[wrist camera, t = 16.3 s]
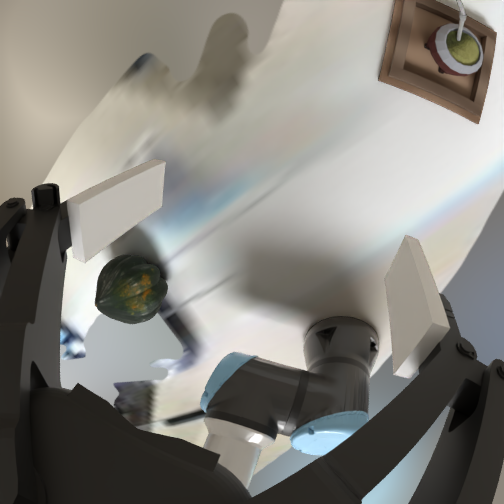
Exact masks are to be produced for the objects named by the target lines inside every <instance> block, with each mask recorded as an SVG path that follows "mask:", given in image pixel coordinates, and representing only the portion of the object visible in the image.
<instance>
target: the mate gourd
mask: <svg viewBox="0 0 504 504" xmlns="http://www.w3.org/2000/svg"><path fill="white" fill-rule="evenodd" d="M456 1H457V3H458V6H459V9H460V12H459V18H460V21H459V24H451V23H449V24H445V25H442V26H439V27H437V28H436V29H435V30H434V32H433V33H432V34H431V35H430V37H429V39H428V41H427V43H425V45H424V48H426V49H428V50H430V53H431V55H432V57H433V59H434V61H435V62H436V64H437V65H438V66H439V68H438V72H439V73H441V74H444V73H445V74H450V75H454V76H468V75H470V74H473V73H475V72H476V71H477V70H478V69H479V68H480V66H481V65H482V61H483V51H482V46H481V44H480V42H479V41H478V39H477V37H476V36H475V35H474V34H473V33H472V32H471V31H470V30H469V29H467V28H465V27H463V26H464V21H465V20H466V16H467V14H466V13H465V10H464V6H463V4H462V2H461V0H456Z"/></svg>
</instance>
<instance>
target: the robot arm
mask: <svg viewBox="0 0 504 504" xmlns="http://www.w3.org/2000/svg"><path fill="white" fill-rule="evenodd" d="M164 173H165V161H161V160H156V159H153V160H151V161H148V162H146V163H143V164H141V165H139V166H136V167H134V168H132V169H130V170H127V171H125V172H123V173H121V174H119V175H116V176H114V177H112V178H110V179H108V180H106V181H104V182H102V183H100V184H98V185H95V186H93V187H91V188H89V189H87V190H85V191H83V192H82V193H80V194H78V195H76V196H74V197H72V198H70V199H68V200H66V201H65V202H63V203H61V204H60V195H59V186H58V185H57V184H53V183H47V184H42V185H39V186H37V187H35V188H33V189H32V191H31V192H32V201H33V210H32V209H26V206H25V201H24V199H23V198H11V199H9V200H8V201H6V202H4V203H3V204H2V205H1V206H0V504H361V503H362V501H361V500H362V499H363V497H365V496H366V495H367V494H368V493H369V492H370V491H371V490H372V489H373V488H374V487H375V486H376V485H377V484H378V483H379V482H381V481H382V479H384V478H385V477H386V476H387V475H388V474H389V473H390V472H391V471H392V470H393V469H394V468H395V467H396V466H397V465H398V463H399V462H400V461H401V460H402V459H403V458H404V457H405V456H406V455H407V454H408V453H409V451H410V450H411V449H412V448H413V447H414V446H415V445H416V444H417V442H418V441H419V440H420V439H421V438H422V436H423V435H424V434H425V433H426V432H427V430H428V429H429V428H430V427H431V425H432V424H433V423H434V422H435V420H436V419H437V418H438V416H439V415H440V414H441V412H442V411H443V410H444V408H445V407H446V406H449V407H451V408H450V411H449V414H448V417H447V419H446V422H445V425H444V428H443V430H442V433H441V436H440V438H439V441H438V443H437V445H436V448H435V450H434V453H433V455H432V457H431V460H430V462H429V464H428V466H427V468H426V471H425V473H424V475H423V477H422V479H421V481H420V483H419V485H418V487H417V489H416V491H415V492H414V494H413V496H412V498H411V500H410V502H409V503H408V504H492V501H493V499H494V495H495V492H496V488H497V484H498V481H499V477H500V473H501V469H502V465H503V460H504V362H503V361H502V360H500V359H495V360H493V361H492V362H491V364H490V365H489V366H486V365H484V364H483V363H481V362H479V361H478V360H476V359H477V354H476V351H475V349H474V347H473V346H472V345H471V343H470V342H468V341H467V340H466V339H465V338H462V337H461V335H460V332H459V329H458V326H457V323H456V320H455V317H454V314H453V313H452V308H451V305H450V303H449V302H448V300H447V299H446V298H445V296H444V295H443V294H440V293H439V292H438V289H437V286H436V283H435V281H434V278H433V275H432V273H431V270H430V267H429V265H428V262H427V260H426V257H425V255H424V252H423V250H422V247H421V245H420V243H419V240H418V239H415V238H413V237H410V236H408V235H405V237H404V239H403V241H402V243H401V246H400V248H399V250H398V252H397V254H396V256H395V258H394V260H393V262H392V264H391V267H390V269H389V271H388V273H387V275H386V277H385V285H386V293H387V301H388V310H389V319H390V329H391V341H392V355H393V374H394V375H397V376H401V377H405V378H411V377H412V376H413V374H414V373H415V372H416V371H417V370H418V369H419V375H418V376H417V377H416V378H415V379H414V380H413V381H412V382H411V383H410V384H409V385H408V386H407V387H406V388H405V389H404V390H403V391H402V392H401V393H400V394H399V395H398V396H396V398H394V399H393V400H392V401H391V402H390V403H389V404H388V405H387V406H386V407H384V408H383V409H382V410H381V411H380V412H379V413H378V414H377V415H376V416H374V417H373V418H372V419H371V420H369V421H368V419H369V416H368V405H369V377H370V373H371V371H372V368H373V366H374V364H375V361H376V359H377V356H378V352H379V341H378V336H377V334H376V332H375V331H374V329H373V328H372V327H371V326H369V325H368V324H367V323H365V322H363V321H361V320H358V319H355V318H351V317H333V318H328V319H325V320H323V321H320V322H319V323H317V324H315V325H314V326H313V327H312V328H311V329H310V330H309V331H308V333H307V335H306V338H305V343H304V356H305V361H306V366H307V371H305V370H301V369H297V368H294V367H290V366H286V365H283V364H279V363H276V362H272V361H269V360H266V359H262V358H259V357H258V356H255V355H254V356H251V355H247V354H243V353H239V352H233V353H230V354H228V355H227V356H225V357H224V358H223V359H222V360H221V361H220V363H219V364H218V365H217V367H216V368H215V370H214V371H213V373H212V375H211V377H210V379H209V380H208V382H207V384H206V387H205V391H204V393H203V395H202V398H201V402H200V406H201V408H202V409H203V410H204V412H206V416H205V418H204V422H205V425H206V427H207V429H208V432H209V434H208V437H207V439H206V442H205V444H204V447H203V448H202V447H199V446H197V445H195V444H192V443H190V442H187V441H185V440H183V439H179V438H174V437H169V436H165V435H160V434H156V433H152V432H147V431H143V430H140V429H138V428H136V427H134V426H133V425H132V424H131V423H130V422H129V421H128V420H127V419H125V418H124V417H123V416H122V415H121V414H120V413H119V412H118V411H117V410H116V409H115V408H114V407H113V406H112V405H110V403H109V402H107V401H106V400H104V399H102V398H101V397H99V396H98V395H96V394H94V393H93V392H91V391H90V390H88V389H86V388H85V387H83V386H82V385H80V384H79V383H77V385H76V386H75V387H74V388H73V390H69V389H65V388H62V387H61V382H60V328H61V310H62V298H63V287H64V278H65V270H66V262H67V253H66V250H67V249H68V248H69V247H71V246H72V251H73V258H76V259H78V260H80V261H82V262H84V263H86V262H87V261H89V260H90V259H91V258H92V257H94V256H95V255H96V254H98V253H99V252H100V251H101V250H103V249H104V248H105V247H107V246H108V245H109V244H111V243H112V242H113V241H115V240H116V239H117V238H119V237H120V236H121V235H123V234H124V233H125V232H127V231H128V230H130V229H131V228H132V227H134V226H135V225H136V224H138V223H139V222H141V221H142V220H143V219H145V218H146V217H148V216H149V215H150V214H152V213H153V212H155V211H156V210H158V209H159V208H161V207H162V198H163V185H164ZM6 238H7V242H8V247H6ZM277 434H282V435H285V436H290V441H291V445H292V446H293V448H295V449H296V450H299V451H300V452H303V453H306V454H312V455H324V456H322V457H320V458H318V459H316V460H315V461H313V462H312V463H310V464H308V465H307V466H305V467H304V468H302V469H301V470H299V471H298V472H296V473H295V474H293V475H291V476H290V477H288V478H286V479H285V480H283V481H281V482H280V483H278V484H276V485H274V486H273V487H271V488H269V489H267V490H266V491H264V492H262V493H260V494H258V495H256V496H254V497H251V495H250V494H249V492H248V490H247V489H248V486H249V484H250V481H251V478H252V476H253V473H254V470H255V467H256V465H257V462H258V459H259V456H260V453H261V451H262V450H263V449H264V448H266V447H268V446H270V445H272V444H274V442H275V439H276V436H277Z"/></svg>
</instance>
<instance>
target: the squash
mask: <svg viewBox="0 0 504 504" xmlns="http://www.w3.org/2000/svg"><path fill="white" fill-rule="evenodd" d="M167 290H168V285H167V283H166V281H165V280H164V279H163V278H161V277H160V270H159V268H158V267H156V266H155V265H152V264H147V262H146V260H145V259H144V258H142V257H141V256H131V255H121V256H118V257H116V258H115V259H112V260H111V261H109V262H108V263H107V264H106V265H105V266H104V267H103V269H102V271H101V273H100V275H99V277H98V281H97V291H96V298H95V306H96V307H97V309H98V310H99V311H100V312H101V313H103V314H105V315H106V316H108V317H110V318H112V319H115V320H118V321H121V322H124V323H129V324H137V323H140V322H145V321H147V320H150V319H151V318H153V317H154V316H155V314H156V313H157V312H158V311H159V309H160V307H161V304H162V300H163V299H164V297H165V296H166V294H167Z"/></svg>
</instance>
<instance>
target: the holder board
mask: <svg viewBox="0 0 504 504" xmlns="http://www.w3.org/2000/svg"><path fill="white" fill-rule="evenodd" d="M459 21H460V18H459V11H457V10H455V9H453V8H451V7H449V6H446V5H444V4H442V3H440V2H438V1H435V0H395V5H394V11H393V16H392V21H391V26H390V31H389V36H388V41H387V45H386V50H385V54H384V59H383V63H382V68H381V72H380V76H379V80H378V81H381V82H384V83H386V84H389V85H392V86H395V87H397V88H400V89H403V90H405V91H408V92H410V93H413V94H415V95H417V96H420V97H422V98H424V99H427V100H429V101H431V102H434V103H436V104H438V105H440V106H442V107H444V108H446V109H449V110H451V111H453V112H455V113H457V114H459V115H461V116H463V117H465V118H466V119H468V120H470V121H472V122H474V123H476V124H479V121H480V117H481V113H482V110H483V106H484V102H485V97H486V93H487V89H488V84H489V79H490V74H491V69H492V63H493V57H494V51H495V44H496V36H497V33H496V32H495V31H493V30H491V29H490V28H488V27H486V26H485V25H483V24H481V23H479V22H478V21H476V20H474V19H472V18H470V17H468V16H466V20H465V21H464V26H463V27H465V28H467V29H469V30H470V31H471V32H472V33H473V34H474V35H475V36H476V37H477V39H478V41H479V42H480V44H481V46H482V51H483V61H482V65H481V66H480V68H479V69H478V70H477V71H476V72H475V73H473V74H470V75H468V76H454V75H450V74H445V73H444V74H441V73H439V72H438V68H439V66H438V65H437V64H436V62H435V61H434V59H433V57H432V55H431V53H430V50H428V49H426V48H424V45H425V43H427V41H428V39H429V37H430V35H431V34H432V33H433V32H434V30H435V29H436V28H437V27H439V26H442V25H445V24H449V23H451V24H459Z"/></svg>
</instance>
